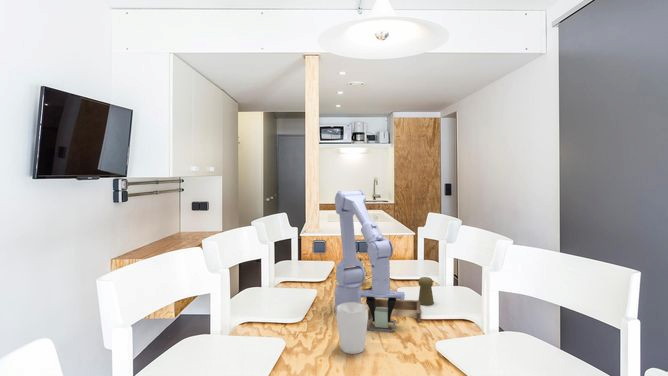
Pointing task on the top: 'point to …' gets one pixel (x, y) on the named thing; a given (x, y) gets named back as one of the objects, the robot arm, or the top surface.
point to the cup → (352, 326)
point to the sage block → (381, 317)
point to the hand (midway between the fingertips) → (381, 320)
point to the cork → (425, 291)
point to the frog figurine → (365, 284)
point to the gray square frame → (381, 329)
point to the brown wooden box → (401, 308)
